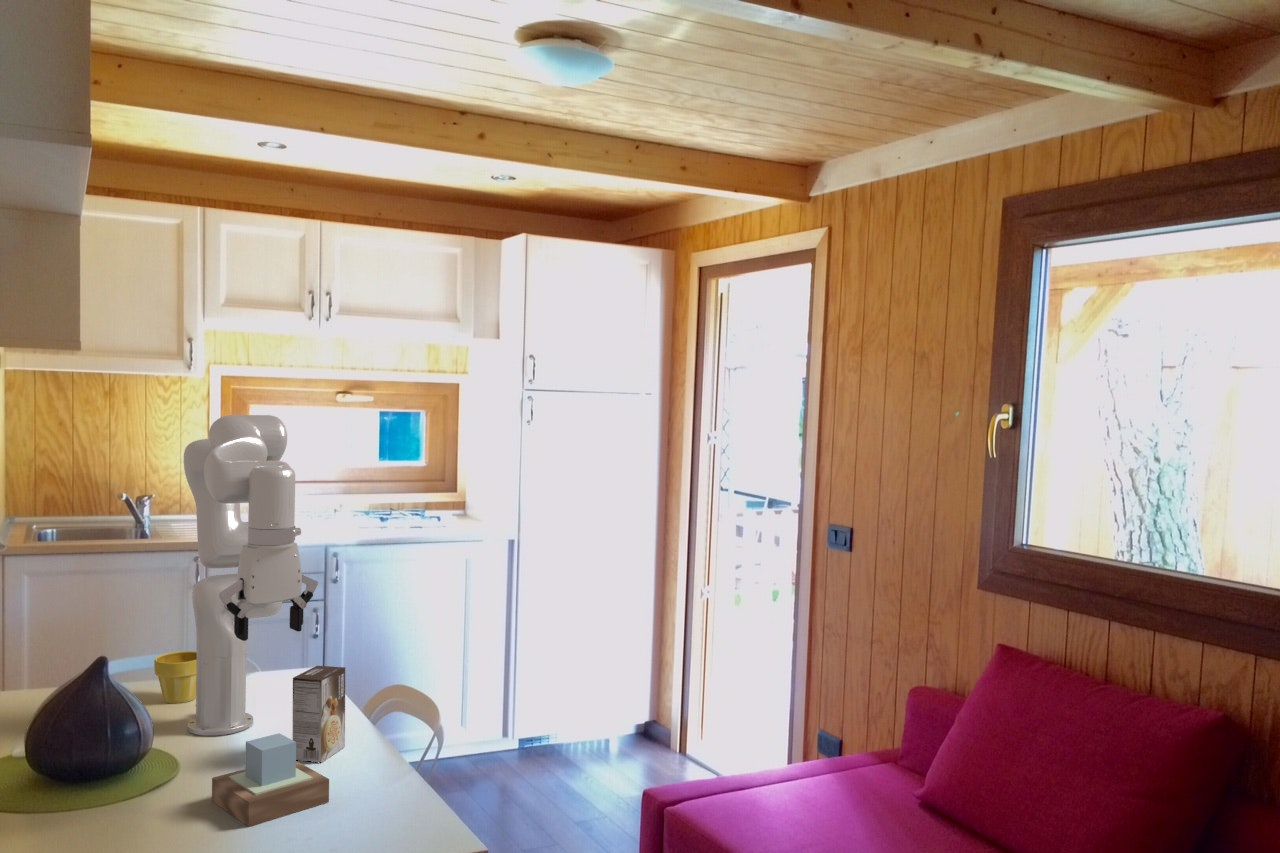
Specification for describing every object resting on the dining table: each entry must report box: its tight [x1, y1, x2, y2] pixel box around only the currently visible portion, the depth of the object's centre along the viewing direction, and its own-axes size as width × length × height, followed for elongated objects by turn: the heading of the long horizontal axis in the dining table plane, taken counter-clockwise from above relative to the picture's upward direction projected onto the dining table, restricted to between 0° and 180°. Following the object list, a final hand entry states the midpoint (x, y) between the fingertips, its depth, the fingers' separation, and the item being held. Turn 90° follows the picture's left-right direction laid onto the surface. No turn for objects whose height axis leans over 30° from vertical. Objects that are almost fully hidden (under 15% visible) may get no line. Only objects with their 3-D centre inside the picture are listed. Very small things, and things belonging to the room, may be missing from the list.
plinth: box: [211, 761, 330, 828], centre depth 167 cm, size 14×14×4 cm
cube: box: [244, 732, 296, 786], centre depth 167 cm, size 6×6×6 cm
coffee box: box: [292, 665, 346, 763], centre depth 189 cm, size 9×6×16 cm
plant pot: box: [153, 650, 197, 705], centre depth 221 cm, size 10×10×10 cm
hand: (269, 634), depth 170 cm, fingers open, 9 cm apart
